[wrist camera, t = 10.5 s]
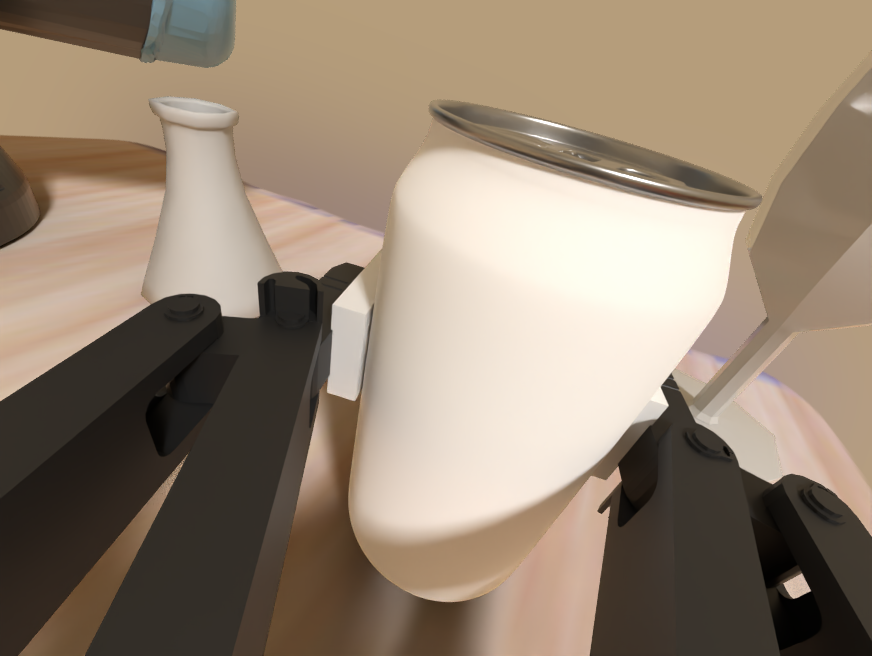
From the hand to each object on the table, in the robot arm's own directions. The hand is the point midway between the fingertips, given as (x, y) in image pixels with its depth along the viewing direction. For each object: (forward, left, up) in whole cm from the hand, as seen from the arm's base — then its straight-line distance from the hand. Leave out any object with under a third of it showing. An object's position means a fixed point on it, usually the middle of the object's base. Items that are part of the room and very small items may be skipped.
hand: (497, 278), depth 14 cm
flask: (-15, -5, -8) cm, 17 cm away
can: (+3, -4, -7) cm, 9 cm away
